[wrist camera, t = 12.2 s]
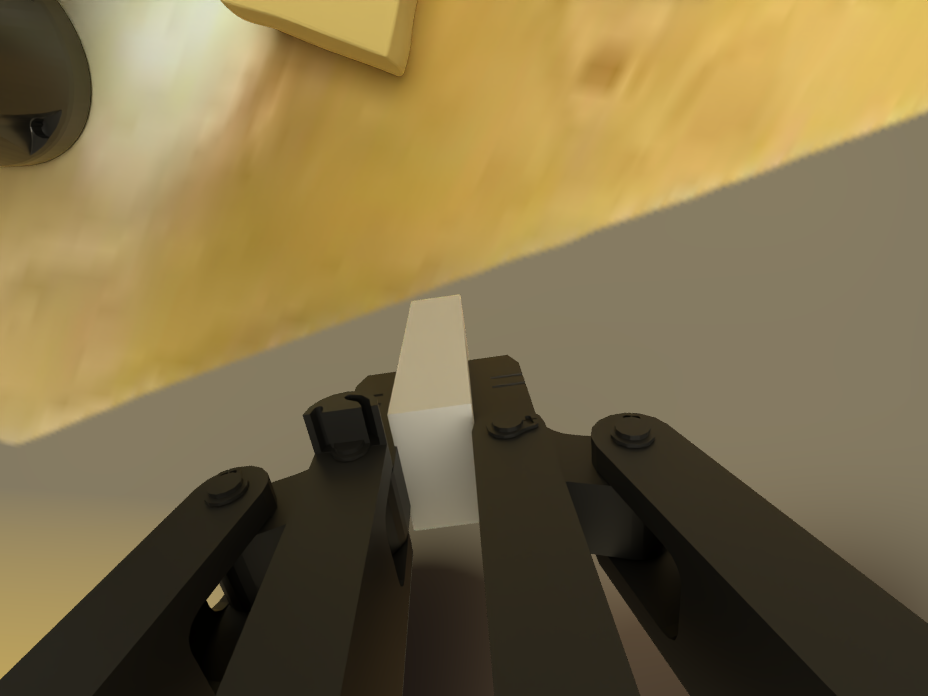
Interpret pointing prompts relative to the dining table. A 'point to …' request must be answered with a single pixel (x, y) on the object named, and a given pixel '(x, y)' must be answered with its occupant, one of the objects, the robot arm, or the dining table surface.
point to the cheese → (341, 26)
